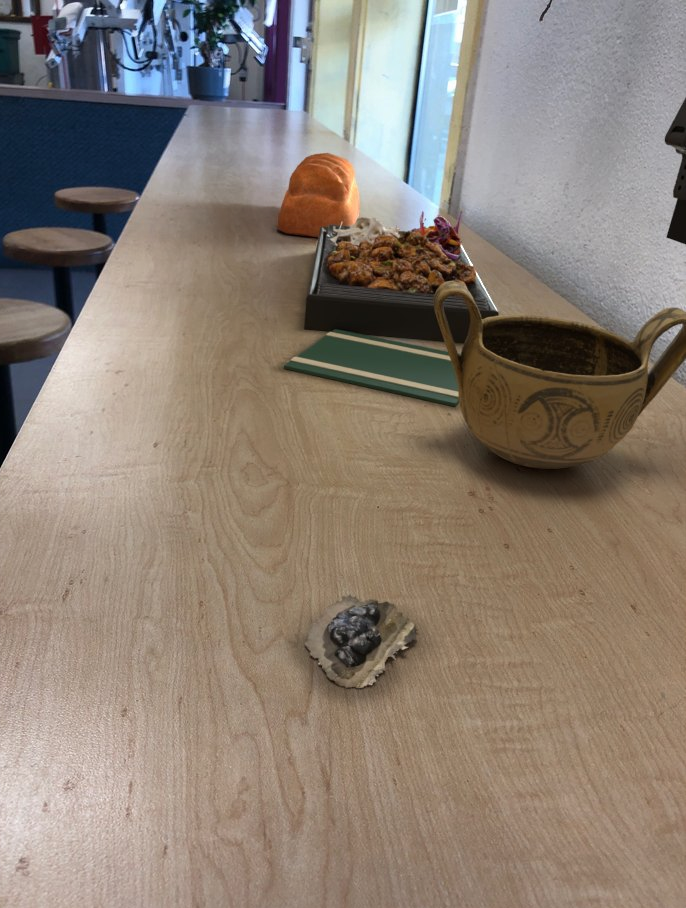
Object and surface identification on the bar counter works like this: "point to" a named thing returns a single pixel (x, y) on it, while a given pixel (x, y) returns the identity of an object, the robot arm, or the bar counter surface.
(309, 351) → the dish cloth
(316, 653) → the dark lumps on shell
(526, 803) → the bar counter surface
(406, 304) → the food platter
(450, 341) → the ceramic bowl
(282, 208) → the bread
